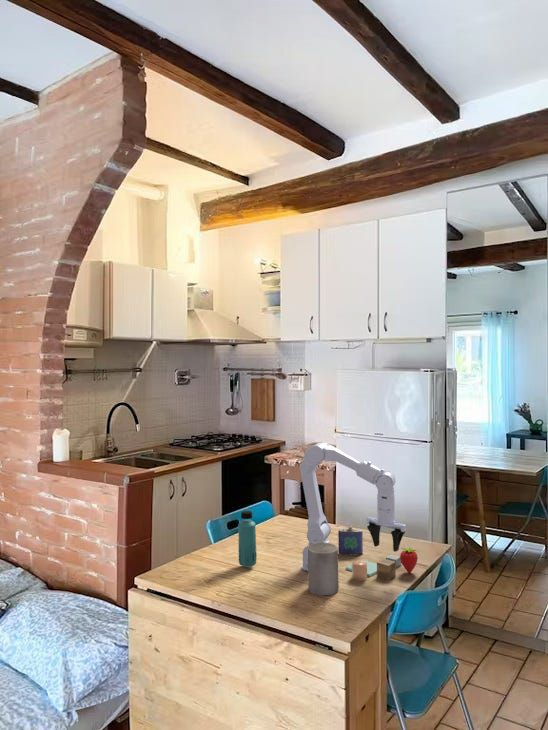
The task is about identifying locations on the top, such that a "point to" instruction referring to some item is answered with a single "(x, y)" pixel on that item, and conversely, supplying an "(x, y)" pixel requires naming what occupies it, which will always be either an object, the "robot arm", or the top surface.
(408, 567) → the strawberry
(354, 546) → the flask
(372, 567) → the coaster
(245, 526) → the beverage bottle
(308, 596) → the top surface
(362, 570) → the peach domed cylinder
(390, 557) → the grey square block
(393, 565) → the walnut block
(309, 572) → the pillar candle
